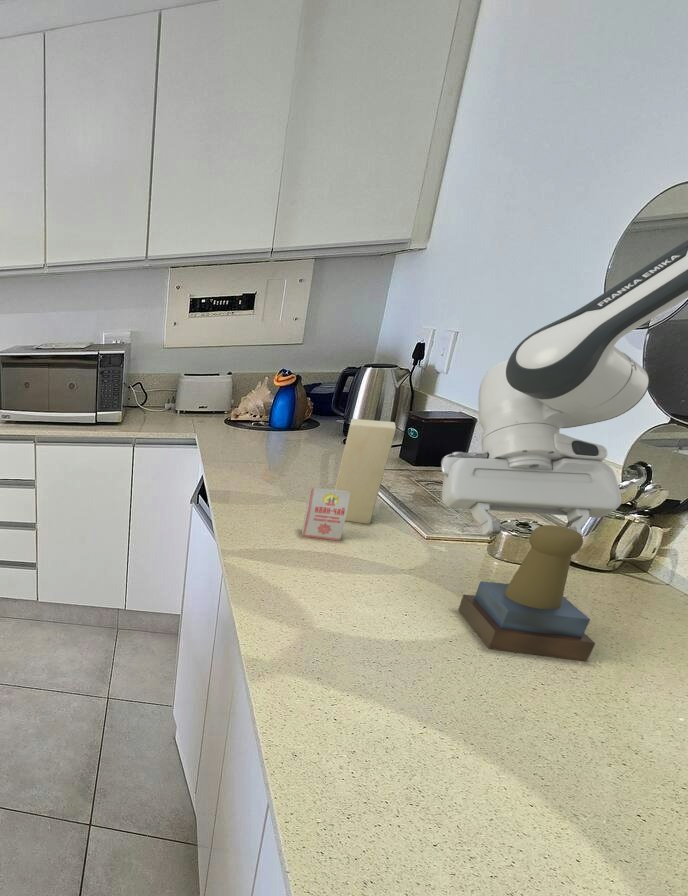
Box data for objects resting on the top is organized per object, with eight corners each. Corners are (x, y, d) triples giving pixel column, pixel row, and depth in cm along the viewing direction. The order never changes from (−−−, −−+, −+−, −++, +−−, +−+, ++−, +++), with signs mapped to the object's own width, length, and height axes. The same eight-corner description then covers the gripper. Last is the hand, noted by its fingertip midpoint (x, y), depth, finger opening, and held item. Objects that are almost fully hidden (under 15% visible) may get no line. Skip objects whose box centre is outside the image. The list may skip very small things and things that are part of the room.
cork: (560, 597, 83) (590, 527, 79) (560, 614, 79) (592, 541, 75) (505, 584, 87) (531, 517, 82) (502, 600, 83) (529, 530, 78)
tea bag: (301, 529, 123) (311, 485, 119) (338, 534, 120) (349, 488, 116) (302, 536, 120) (312, 490, 116) (340, 540, 117) (351, 494, 113)
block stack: (544, 620, 88) (559, 586, 86) (587, 661, 79) (604, 624, 76) (457, 610, 92) (469, 577, 89) (488, 648, 82) (502, 612, 80)
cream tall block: (370, 513, 129) (395, 420, 121) (370, 524, 124) (396, 428, 115) (329, 508, 133) (350, 417, 125) (328, 518, 128) (349, 424, 119)
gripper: (450, 441, 89) (456, 522, 85) (621, 447, 83) (637, 536, 78) (431, 461, 95) (436, 538, 91) (590, 468, 89) (603, 552, 84)
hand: (531, 537), depth 84 cm, fingers open, 8 cm apart
